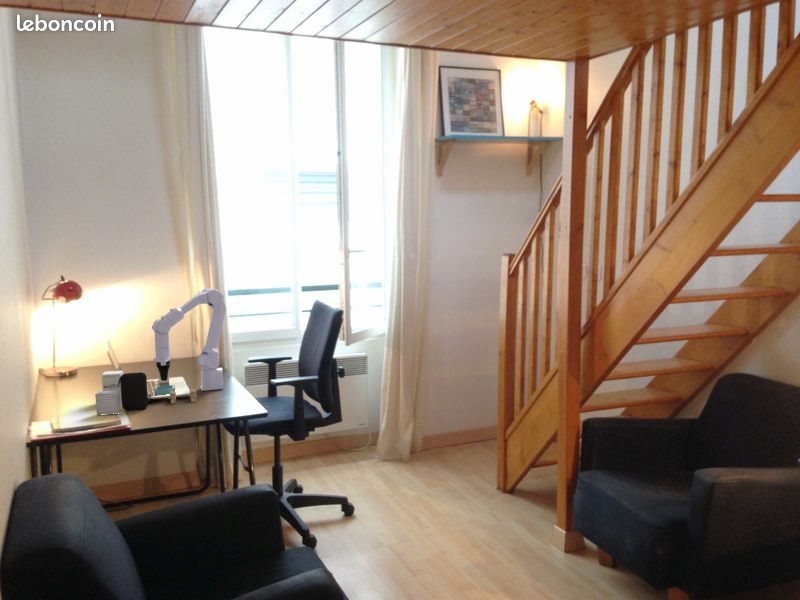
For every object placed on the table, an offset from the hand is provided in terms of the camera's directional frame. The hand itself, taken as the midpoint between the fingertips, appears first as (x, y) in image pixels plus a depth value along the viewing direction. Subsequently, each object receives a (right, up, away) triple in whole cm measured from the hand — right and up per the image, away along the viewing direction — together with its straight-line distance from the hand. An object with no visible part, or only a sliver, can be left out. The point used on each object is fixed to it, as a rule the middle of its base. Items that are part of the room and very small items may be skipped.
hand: (164, 379), depth 309 cm
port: (0, -7, +1) cm, 7 cm away
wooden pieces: (+11, -8, -9) cm, 16 cm away
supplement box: (-17, -9, -9) cm, 22 cm away
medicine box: (-12, -11, -29) cm, 33 cm away
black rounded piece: (-4, -10, -23) cm, 25 cm away
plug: (0, -2, 0) cm, 2 cm away
